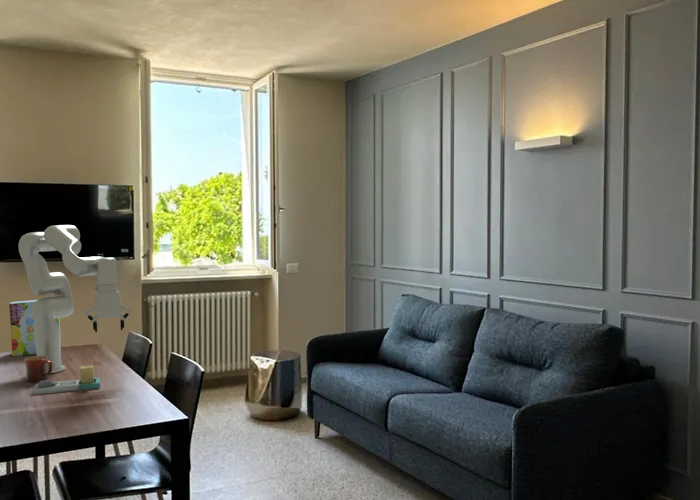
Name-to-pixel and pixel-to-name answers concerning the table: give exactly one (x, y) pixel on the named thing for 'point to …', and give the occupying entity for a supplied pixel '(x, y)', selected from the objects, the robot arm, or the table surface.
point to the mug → (37, 368)
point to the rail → (66, 386)
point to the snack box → (23, 328)
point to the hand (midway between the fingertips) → (109, 330)
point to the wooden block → (87, 374)
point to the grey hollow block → (46, 383)
